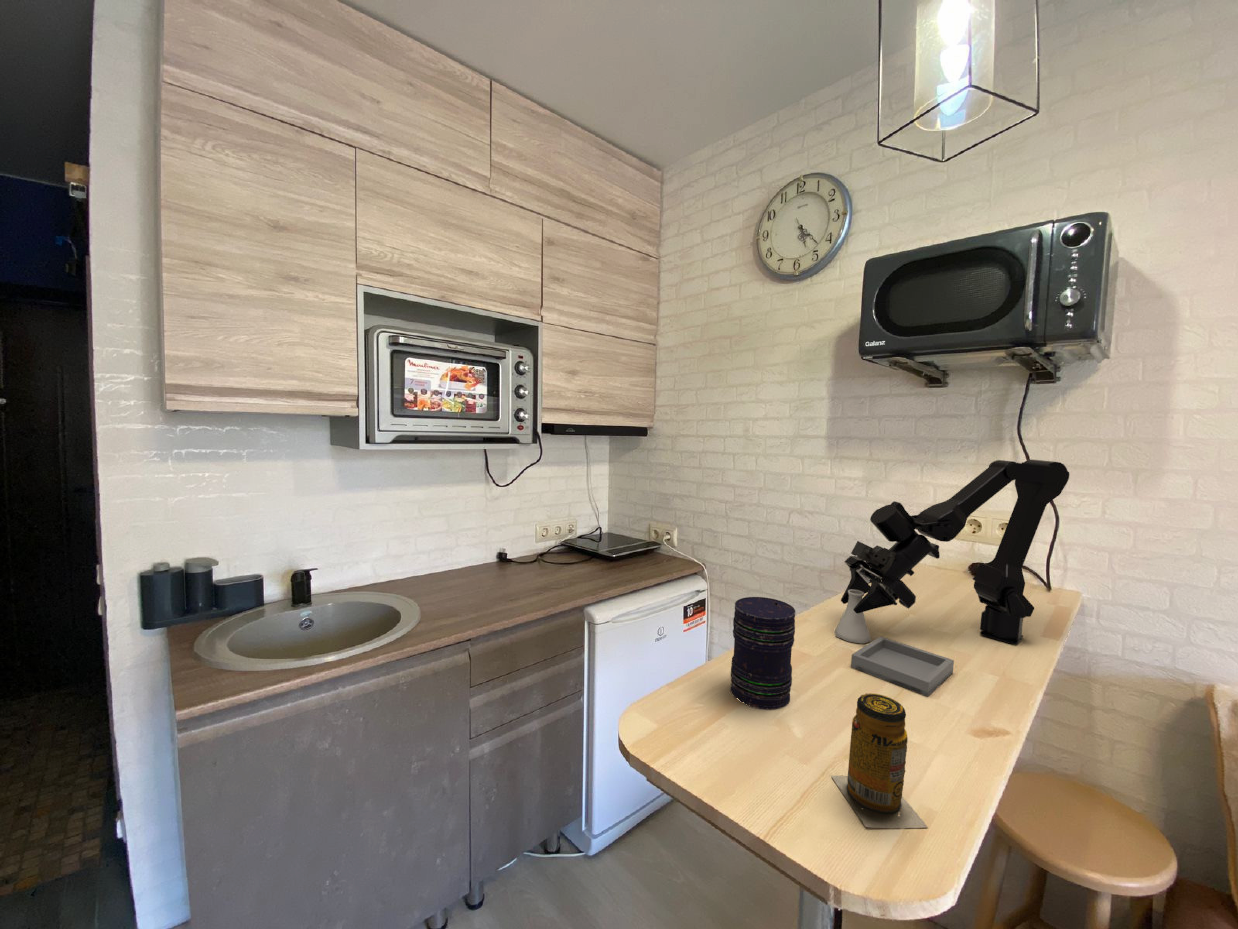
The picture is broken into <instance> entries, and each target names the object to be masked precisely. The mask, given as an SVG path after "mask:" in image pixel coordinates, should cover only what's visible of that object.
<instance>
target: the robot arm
mask: <svg viewBox="0 0 1238 929" xmlns="http://www.w3.org/2000/svg"><path fill="white" fill-rule="evenodd" d="M1069 480H1070V471H1068V469H1067V466H1066V465H1065V464H1064V463H1062V462H1058V461H1052V460H1051V461H1050V460H1040V459H1027V460H1025V461H1022V462H1016V461H1011V460H1004V459H1003V460H1001V459H997V460H994V461H991V463H990V464H989V465H988V467H987V468H985V470H983V471H982V472H981V473H979V474H978V475H977V476H976V477H974V478H973V479H972V480H971V481H970V482H968V483H967V484H966V485H965V486H964V487H962V488H961V489H960V490H959V491H958V492H956V493H955V494H953V495H952V496H951V497H950V498H949V499H947V500H944V501H942V502H938V503H935V504H932V505H930V506H929V507H928V508H925V509H924V510H922V511H920V512H919V513H918V514H913V515H910V514H909V513H908V511H907V510H906V509H905V507H904V506H903V504H902V503H901V502H898V501H892V502H891V503H890V504H886V505H884V506H881V507H880V508H877V509H875V511H873V513H872V514H871V516H870V522H871V523H872V525H873V526H874V527H875V528H876V529H877V530H878V531H879V532H880V533H881V534H882V536H883V537H884V538H885V539H886V540H887V541H888V542H892V543H893V542H895V543H894V544H893V545H892V546H890V547H889V549H888V548H885V547H883V546H880V545H875V546H874V547H872V546H869V545H867V544H865V543H864V542H861V541H859V540H857V541H856V543H855V545H854V547H853V548H852V550H851V552H850V554H851V555H850V556H849V557H847V558H846V559H845V561H844V563H845V564H846V565H847V567H848V568H849V571H850V580H849V583H848V584H847V587H846V589H845V590H844V593H843V595H842V597H841V599H840V602H841V603H842V604H843V605H845V604H846V605H847V604H848V600H849V594H848V590H850V589H854V590H859V591H863V592H864V596H863V597H862V600H861V601H860V602H859V603H858V604H857V605H856V607H855V608H854V609H853V610H854V611H855V613H857V614H858V613H862V612H863V613H865V612H868V611H871V610H875V609H879V608H883V607H887V606H892V605H893V606H897V605H898V603H899V604H900V605H901V606H903V607H904V608H906V609H908V610H909V609H910V608H911V607H912V606H913V605H914V604H915V603H916V600H917V599H916V598H917V596H916V595H915V594H914V592H913V591H912V590H911V588H909V587H908V586H907V584H905V582H904V581H903V580H902V579H903V578H904V577H905V576H906V575H908V576H909V577H912V576H913V575H914V574H915V572H914V570H913V569H914V568H915V567H916V566H917V565H918V564H919V563H921V561H922V560H923V559H925V558H926V557H927V556H930V557H932V558H934V559H938V560H939V558H940V556H941V555H940V545H939V544H936V543H933V542H931V540H929V539H928V538H931V539H933V540H936V541H939V542H942V543H943V542H946V543H947V542H951V541H952V540H954V539H955V538H956V537H958V535H959V534H960V533H961V532H962V531H963V529H964V528H965V527H966V523H967V520H968V518H969V517H970V516H971V515H972V514H973V513H975V511H976V510H978V509H979V508H980V507H982V506H983V505H984V504H985V503H987V502H988V501H989V500H990V499H991V498H993V497H994V496H995V495H997V494H998V493H999V492H1001V490H1002V489H1004V488H1005V487H1007V485H1009V484H1010V483H1011V482H1014V486H1015V490H1016V491H1015V492H1016V494H1017V498H1016V501H1015V504H1014V507H1013V510H1012V512H1011V515H1010V517H1009V520H1008V523H1007V525H1006V528H1005V530H1004V532H1003V535H1002V537H1001V540H1000V543H999V545H998V547H997V551H996V553H995V556H994V558H993V559H992V560H991V561H990V562H988V563H987V564H985V563H982V562H980V563H979V564H978V566H977V571H976V573H975V575H974V576H973V577H972V580H973V581H974V582H973V589H974V590H975V593H976V594H977V598H978V601H979V603H981V604H983V605H986V606H985V608H984V610H983V611H982V612H981V614H980V615H981V616H980V625H979V630H980V636H982V637H986V638H989V639H993V640H996V641H1000V642H1004V643H1006V644H1007V643H1008V644H1010V645H1012V646H1013V645H1014V646H1016V645H1018V644H1020V642H1021V641H1022V639H1024V635H1023V633H1022V632H1023V622H1024V619H1025V618H1027V617H1028V618H1031V617H1032V614H1033V612H1034V610H1035V606H1034V605H1033V604H1032V603H1031V602H1030V601H1029V599H1028V598H1027V597H1026V596H1025V595H1024V590H1025V587H1026V580H1025V577H1024V572H1023V565H1024V564H1025V561H1026V558H1027V556H1028V553H1029V550H1030V548H1031V546H1032V543H1033V540H1034V538H1035V535H1036V533H1037V530H1038V527H1039V526H1040V523H1041V520H1042V517H1043V515H1044V512H1045V509H1046V507H1047V505H1048V504H1050V503H1051V502H1052V501H1053V500H1055V499H1056V498H1057V497H1059V496H1060V495H1061V494H1062V492H1063V490H1064V489H1065V487H1066V486H1067V484H1068V481H1069ZM916 530H917V531H916ZM927 537H928V538H927ZM897 601H898V602H897Z"/></svg>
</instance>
